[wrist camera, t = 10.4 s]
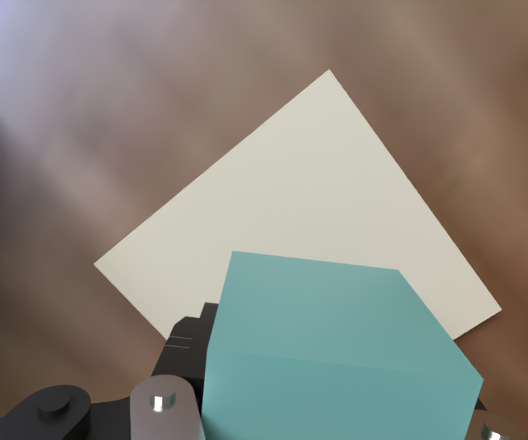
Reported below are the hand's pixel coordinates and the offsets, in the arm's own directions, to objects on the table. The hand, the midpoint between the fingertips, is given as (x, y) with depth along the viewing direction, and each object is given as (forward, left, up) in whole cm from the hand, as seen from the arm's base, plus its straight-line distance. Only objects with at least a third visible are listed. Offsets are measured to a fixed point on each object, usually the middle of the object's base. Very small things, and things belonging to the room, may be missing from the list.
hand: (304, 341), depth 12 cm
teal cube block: (0, 0, 0) cm, 0 cm away
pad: (0, 0, -5) cm, 5 cm away
